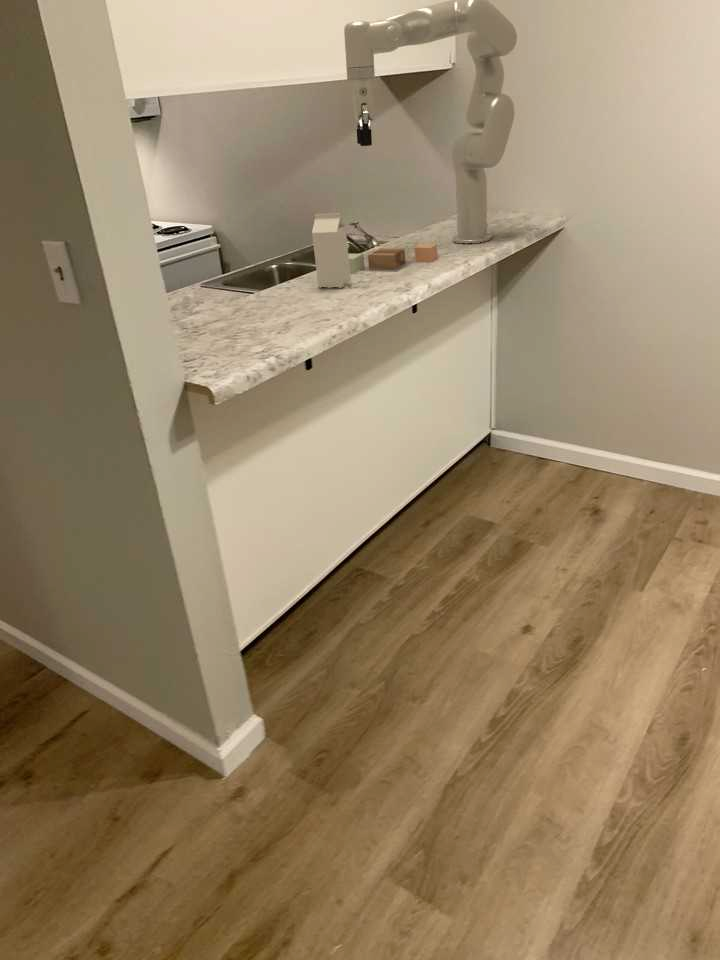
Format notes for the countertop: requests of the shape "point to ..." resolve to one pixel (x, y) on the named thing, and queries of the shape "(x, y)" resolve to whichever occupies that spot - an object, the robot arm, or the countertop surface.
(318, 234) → the milk carton
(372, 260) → the walnut brick
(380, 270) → the build plate
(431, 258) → the terracotta brick
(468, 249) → the countertop surface
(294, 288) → the countertop surface
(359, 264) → the sage brick
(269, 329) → the countertop surface
